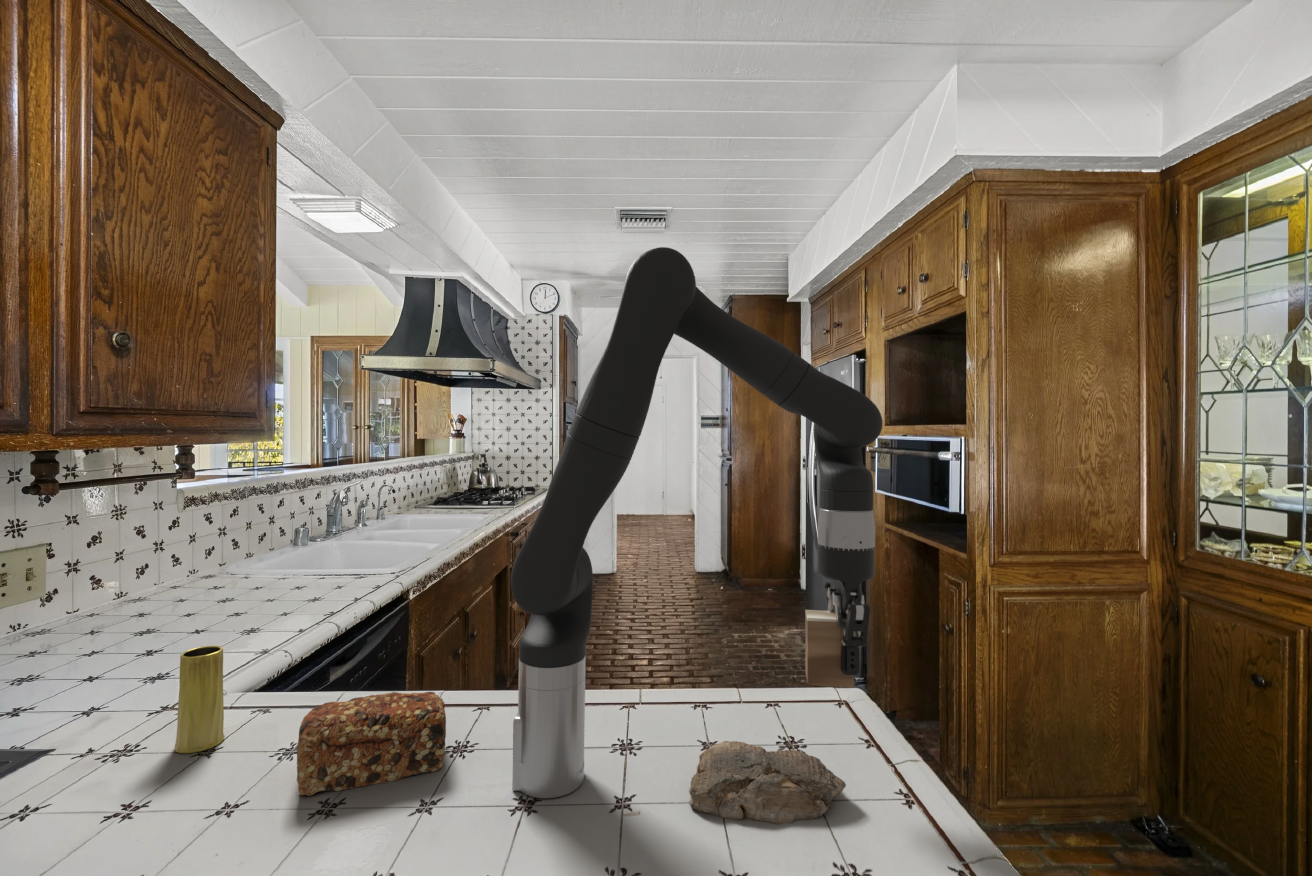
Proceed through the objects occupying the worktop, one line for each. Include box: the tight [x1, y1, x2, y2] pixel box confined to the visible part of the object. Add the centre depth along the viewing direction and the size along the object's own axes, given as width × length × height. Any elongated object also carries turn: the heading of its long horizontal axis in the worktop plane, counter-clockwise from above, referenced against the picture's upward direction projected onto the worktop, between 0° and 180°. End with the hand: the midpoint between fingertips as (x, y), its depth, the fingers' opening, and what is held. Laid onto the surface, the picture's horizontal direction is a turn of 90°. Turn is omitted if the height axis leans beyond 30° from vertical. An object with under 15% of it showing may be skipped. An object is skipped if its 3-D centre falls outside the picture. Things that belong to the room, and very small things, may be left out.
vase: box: [174, 645, 225, 755], centre depth 91 cm, size 6×6×14 cm
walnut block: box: [804, 609, 855, 689], centre depth 81 cm, size 4×6×9 cm, turn 80°
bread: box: [296, 691, 447, 797], centre depth 85 cm, size 19×11×10 cm, turn 114°
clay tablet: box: [688, 740, 847, 825], centre depth 80 cm, size 14×5×20 cm
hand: (844, 666), depth 80 cm, fingers closed on walnut block, 4 cm apart
